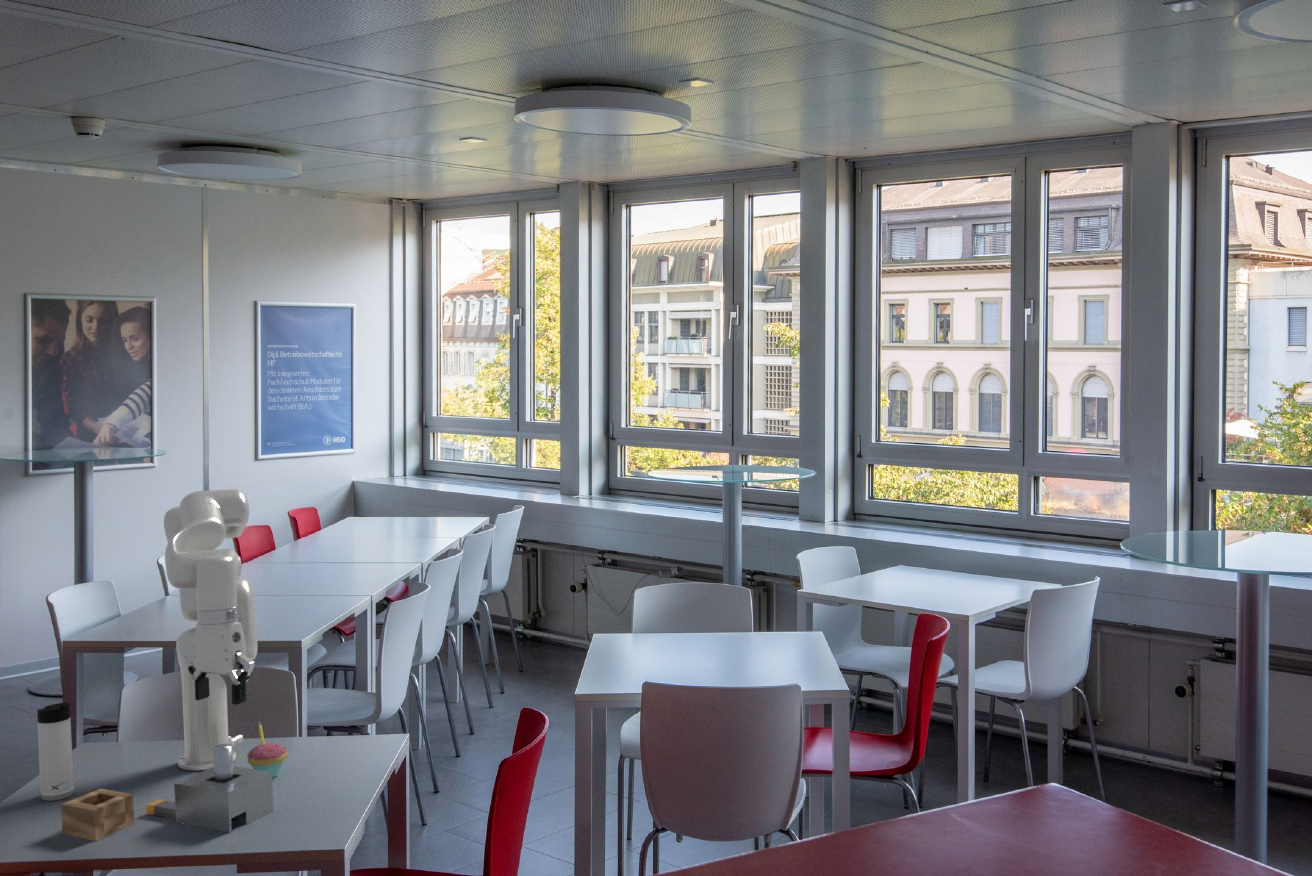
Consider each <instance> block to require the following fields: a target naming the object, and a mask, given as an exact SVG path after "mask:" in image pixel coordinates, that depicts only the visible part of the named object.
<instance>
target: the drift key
mask: <svg viewBox="0 0 1312 876" xmlns="http://www.w3.org/2000/svg"><path fill="white" fill-rule="evenodd" d="M147 814H149V815H148V816H151V815H157V816H156V817H159V816H161V817H160V818H165V817H167V818H166V819H170V818H172V820H176V808H175V801H170V800H166V799H160V798H159V799H156V800H154V801H151V802H149V803H147V804H146V815H147Z"/></svg>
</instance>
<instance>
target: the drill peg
mask: <svg viewBox="0 0 1312 876" xmlns="http://www.w3.org/2000/svg"><path fill="white" fill-rule="evenodd" d="M233 751H234V750H233V747H232V744H219V745H216V746H214V747H213V755H214V782H218V783H226V782H228V781H230V780H233V766H234V761H233Z"/></svg>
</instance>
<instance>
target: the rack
mask: <svg viewBox="0 0 1312 876" xmlns="http://www.w3.org/2000/svg"><path fill="white" fill-rule="evenodd" d="M134 812H135V808H134V794H132V793H127V792H123V791H122V792H121V791H117V790H109V789H104V788H99V789H97V790H93V791H91V792H89V793H88V792H87V793H86V794H84V795H82V796H77V797H76V798H74V799H71V800H68V801H66V802H64V803H61V826H62V835H63V834H64V835H63V836H70V837H74V838H78V837H81V838H80V839H83V840H89V841H93V842H97V841H99V840H101V839H104V838H106V837H108V836H110V835H113V834H114V832H115V833H117V832H119V831H122V830H124V829H126V828H128V827H130V825H131V826H133V825H134V824H135V813H134ZM127 826H128V827H127ZM125 827H126V828H125ZM123 828H124V829H123ZM121 829H122V830H121ZM116 831H117V832H116Z"/></svg>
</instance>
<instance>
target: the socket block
mask: <svg viewBox="0 0 1312 876" xmlns="http://www.w3.org/2000/svg"><path fill="white" fill-rule="evenodd" d="M273 788H274V787H273V778H272V772H267V771H261V770H254V769H253V768H249V767H248V768H246V767H241V766H235V765H233V780H230V781H228V782H226V783H218V782H214V767H212V768H210V769H207V770H201V771H200V772H198V773H196V774H193V775H191V776H189V777H187V778H184V779H181V780H178V781H176V782H174V802H175V808H176V819H175V823H176V824H181V823H184V824H183V825H187V826H192V827H196V828H197V827H198V828H204V829H208V830H209V829H210V830H214V831H219V832H225V833H231V832H232V822H233V823H238V824H243V825H247V824H250V823H252V822H254V821H256V820H258V819H259V818H261V817H264V816H266V815H267V814H269V813H272V812H273V811H274V792H273V790H274V789H273Z"/></svg>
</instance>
